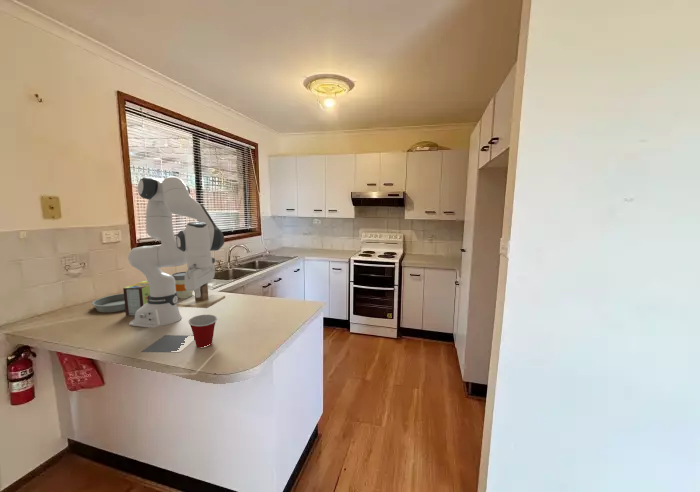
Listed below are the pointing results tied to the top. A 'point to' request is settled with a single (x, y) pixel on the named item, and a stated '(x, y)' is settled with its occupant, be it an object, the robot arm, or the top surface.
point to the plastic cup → (203, 329)
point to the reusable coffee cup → (181, 285)
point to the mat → (166, 344)
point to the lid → (201, 299)
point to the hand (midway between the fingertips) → (201, 295)
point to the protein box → (135, 297)
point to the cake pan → (110, 303)
